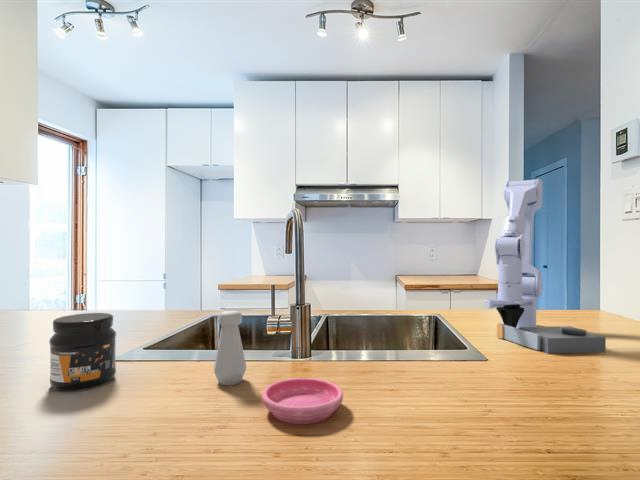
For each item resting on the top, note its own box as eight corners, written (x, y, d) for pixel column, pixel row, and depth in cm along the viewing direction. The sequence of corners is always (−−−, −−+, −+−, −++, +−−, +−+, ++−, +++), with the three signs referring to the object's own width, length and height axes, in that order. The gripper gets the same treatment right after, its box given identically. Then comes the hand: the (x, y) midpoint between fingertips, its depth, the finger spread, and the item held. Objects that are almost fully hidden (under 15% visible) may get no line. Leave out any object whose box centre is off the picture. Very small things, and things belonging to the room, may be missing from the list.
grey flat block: (518, 340, 101) (518, 324, 101) (570, 339, 102) (570, 323, 102) (548, 353, 89) (548, 334, 89) (605, 352, 90) (605, 333, 90)
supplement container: (38, 396, 65) (38, 325, 65) (62, 375, 76) (62, 313, 76) (108, 389, 68) (108, 321, 68) (121, 370, 78) (121, 310, 78)
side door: (496, 336, 104) (496, 323, 104) (500, 336, 104) (500, 323, 104) (535, 350, 91) (535, 335, 91) (540, 350, 91) (540, 335, 91)
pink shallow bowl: (299, 389, 69) (299, 371, 69) (358, 408, 61) (358, 388, 61) (244, 413, 59) (244, 393, 59) (306, 440, 51) (306, 416, 51)
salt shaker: (242, 387, 69) (242, 314, 69) (210, 387, 69) (210, 314, 69) (249, 376, 75) (248, 308, 75) (219, 376, 75) (219, 308, 75)
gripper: (498, 285, 96) (498, 339, 96) (544, 282, 100) (544, 335, 100) (478, 282, 103) (479, 333, 103) (523, 280, 107) (523, 329, 107)
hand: (510, 333), depth 102 cm, fingers closed
